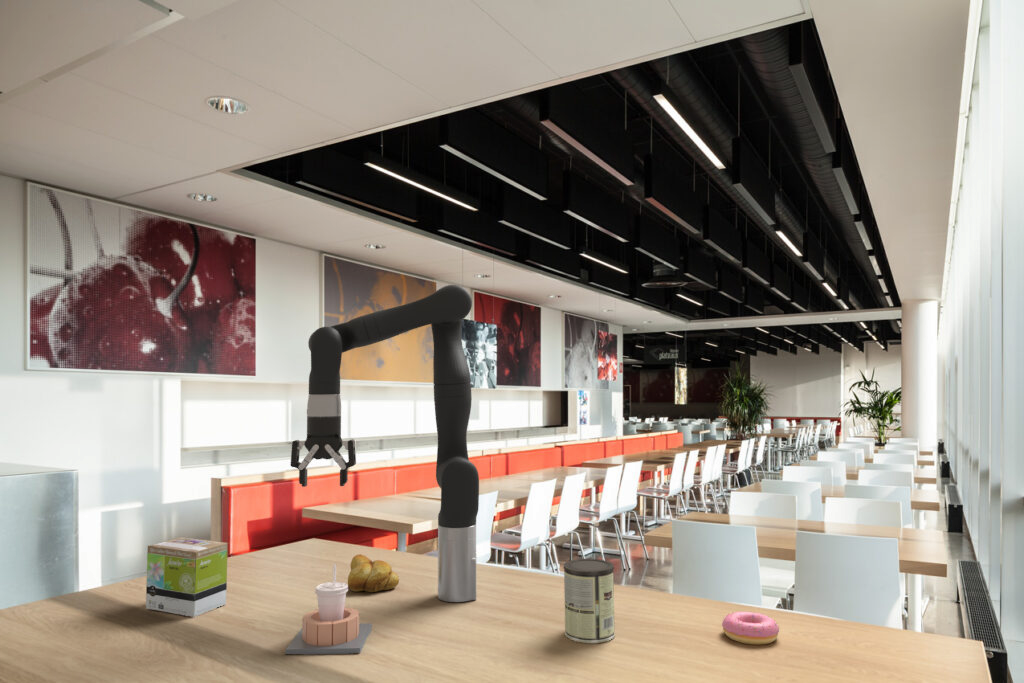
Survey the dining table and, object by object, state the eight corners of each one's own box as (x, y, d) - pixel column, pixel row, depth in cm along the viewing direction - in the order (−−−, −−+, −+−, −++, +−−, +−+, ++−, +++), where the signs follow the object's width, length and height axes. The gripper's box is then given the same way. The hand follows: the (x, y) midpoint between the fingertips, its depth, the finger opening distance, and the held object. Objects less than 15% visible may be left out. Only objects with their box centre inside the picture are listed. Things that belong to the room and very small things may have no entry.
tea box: (143, 610, 160) (145, 544, 161) (179, 598, 169) (181, 535, 170) (193, 618, 154) (195, 550, 155) (228, 605, 163) (229, 540, 164)
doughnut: (710, 632, 144) (710, 612, 145) (752, 625, 149) (752, 605, 149) (748, 651, 134) (747, 628, 135) (791, 642, 139) (791, 621, 139)
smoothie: (339, 642, 136) (339, 569, 137) (308, 640, 138) (309, 567, 139) (352, 631, 143) (353, 561, 144) (323, 629, 144) (324, 559, 145)
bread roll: (402, 585, 180) (403, 553, 180) (391, 596, 170) (391, 562, 171) (354, 583, 181) (354, 551, 182) (340, 594, 172) (341, 561, 172)
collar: (371, 628, 147) (372, 603, 148) (359, 653, 133) (360, 626, 134) (304, 629, 147) (304, 604, 147) (285, 654, 133) (285, 627, 133)
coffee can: (571, 624, 150) (570, 556, 150) (619, 629, 146) (618, 560, 147) (558, 640, 140) (557, 568, 141) (609, 646, 136) (608, 572, 137)
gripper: (358, 413, 165) (357, 483, 164) (297, 414, 164) (296, 484, 163) (352, 414, 157) (351, 488, 156) (288, 415, 157) (286, 488, 156)
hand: (323, 486), depth 160 cm, fingers open, 8 cm apart
